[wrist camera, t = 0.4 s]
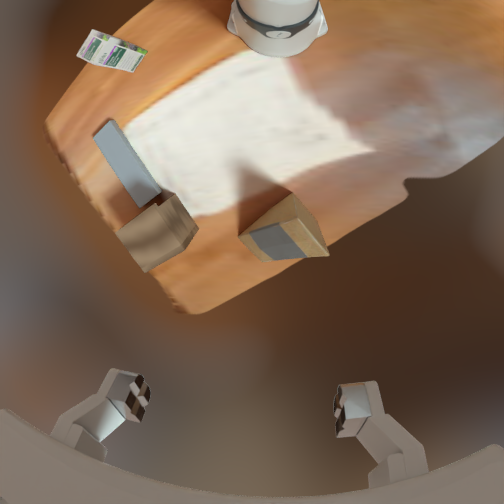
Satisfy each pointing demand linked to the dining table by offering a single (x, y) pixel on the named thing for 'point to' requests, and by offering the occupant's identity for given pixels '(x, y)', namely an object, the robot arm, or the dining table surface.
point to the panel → (126, 164)
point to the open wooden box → (158, 233)
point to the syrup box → (110, 52)
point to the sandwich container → (285, 233)
